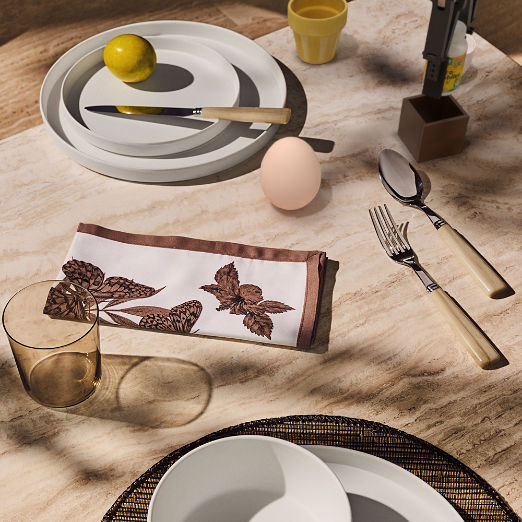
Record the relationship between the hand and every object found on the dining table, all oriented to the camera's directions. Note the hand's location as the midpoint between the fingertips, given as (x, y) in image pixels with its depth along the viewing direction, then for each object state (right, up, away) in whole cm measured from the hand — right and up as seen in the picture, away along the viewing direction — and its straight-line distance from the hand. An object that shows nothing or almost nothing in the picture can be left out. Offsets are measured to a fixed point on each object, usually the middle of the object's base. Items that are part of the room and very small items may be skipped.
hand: (439, 84), depth 99 cm
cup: (+6, +6, +19) cm, 21 cm away
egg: (-22, -17, +1) cm, 28 cm away
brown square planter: (0, -7, +8) cm, 11 cm away
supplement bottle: (0, 0, 0) cm, 1 cm away
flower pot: (-16, +12, +26) cm, 32 cm away
